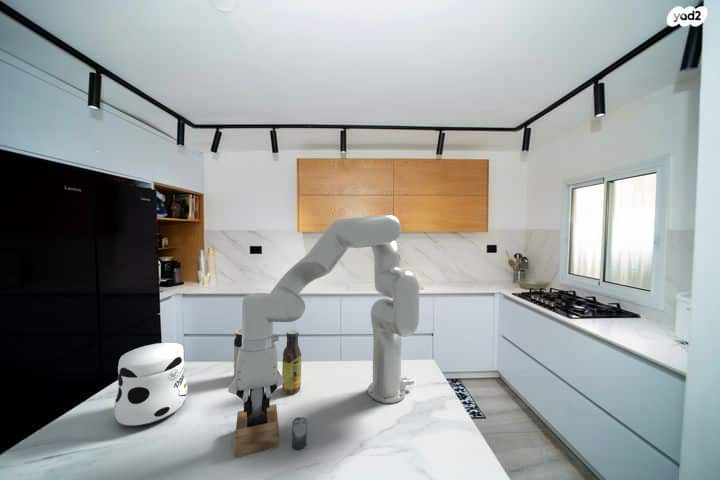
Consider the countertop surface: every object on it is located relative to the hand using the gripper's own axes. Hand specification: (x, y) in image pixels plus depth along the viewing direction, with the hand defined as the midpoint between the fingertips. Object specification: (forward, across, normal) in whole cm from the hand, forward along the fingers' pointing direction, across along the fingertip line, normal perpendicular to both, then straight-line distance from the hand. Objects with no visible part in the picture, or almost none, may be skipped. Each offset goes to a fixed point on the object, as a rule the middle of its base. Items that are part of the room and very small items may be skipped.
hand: (256, 411), depth 73 cm
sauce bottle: (+7, -11, -20) cm, 24 cm away
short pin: (+7, -10, +6) cm, 14 cm away
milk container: (+7, +29, -21) cm, 36 cm away
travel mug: (+7, +4, -33) cm, 34 cm away
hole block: (+7, 0, 0) cm, 7 cm away
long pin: (+4, 0, 0) cm, 4 cm away
